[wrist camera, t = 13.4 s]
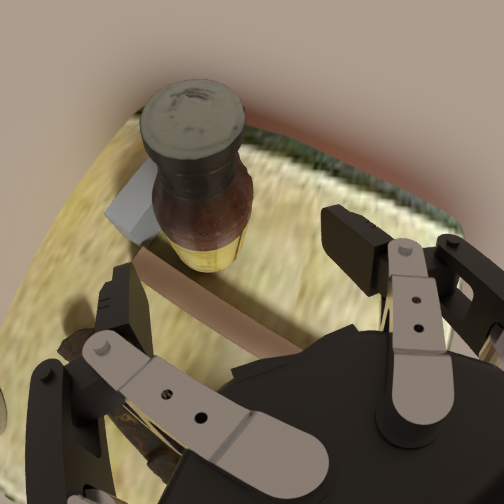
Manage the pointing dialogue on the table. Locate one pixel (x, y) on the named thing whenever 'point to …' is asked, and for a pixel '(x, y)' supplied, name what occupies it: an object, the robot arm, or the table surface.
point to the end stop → (136, 207)
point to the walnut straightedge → (210, 308)
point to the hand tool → (128, 418)
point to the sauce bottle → (199, 171)
